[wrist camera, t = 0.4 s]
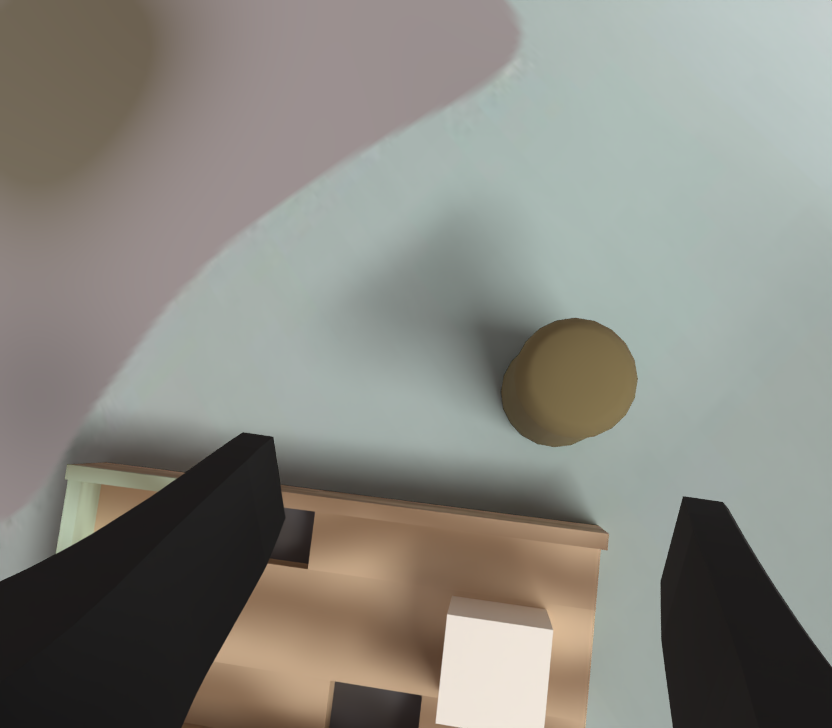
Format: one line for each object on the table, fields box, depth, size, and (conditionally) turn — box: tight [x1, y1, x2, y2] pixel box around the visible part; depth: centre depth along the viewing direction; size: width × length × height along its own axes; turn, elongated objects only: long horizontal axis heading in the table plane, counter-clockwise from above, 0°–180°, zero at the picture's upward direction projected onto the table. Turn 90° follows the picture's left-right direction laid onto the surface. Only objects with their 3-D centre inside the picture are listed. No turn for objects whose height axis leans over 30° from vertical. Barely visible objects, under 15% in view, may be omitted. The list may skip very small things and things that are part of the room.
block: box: [436, 596, 553, 728], centre depth 34 cm, size 5×5×4 cm
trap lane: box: [56, 462, 609, 728], centre depth 37 cm, size 14×29×4 cm, turn 83°
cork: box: [501, 318, 638, 447], centre depth 33 cm, size 6×6×11 cm
